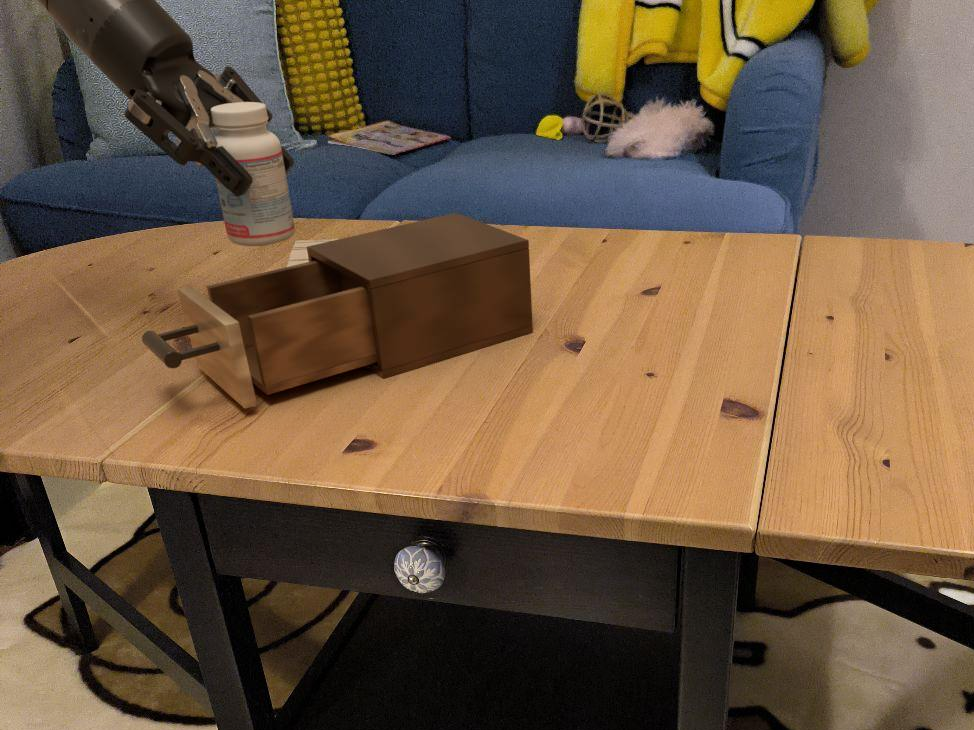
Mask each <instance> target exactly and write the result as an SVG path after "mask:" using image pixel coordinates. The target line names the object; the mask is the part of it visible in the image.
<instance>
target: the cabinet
mask: <svg viewBox="0 0 974 730" xmlns="http://www.w3.org/2000/svg"><path fill="white" fill-rule="evenodd" d="M337 239H338V240H334V241H330V242H325V243H321V244H316V245H312V246H308V247H307V252H308V258H309V262H311V261H315V260H319V261H321V262H323V263H325V264H327V265H328V266H330V267H332V268H334V269H336V270H338V271H339V272H341V273H343V274H345V275H347V276H349V277H350V278H352V279H354V280H356V281H358V282H360V283H361V284H363V285H365V286H367V290H368V297H369V304H370V311H371V318H372V325H373V332H374V339H375V346H376V353H377V360H378V362H376V363H372V364H369V365H366V366H364V367H366V368H367V369H368V370H370V371H371V372H373V373H374V374H376V375H377V376H379V377H380V378H382V379H386V378H390V377H393V376H396V375H400V374H403V373H406V372H410V371H412V370H415V369H418V368H419V369H420V368H422V367H426V366H429V365H432V364H435V363H438V362H441V361H442V362H443V361H444V360H448V359H451V358H454V357H458V356H461V355H464V354H467V353H470V352H474V351H477V350H480V349H484V348H487V347H490V346H494V345H496V344H497V345H498V344H500V343H503V342H506V341H509V340H512V339H515V338H518V337H522V336H526V335H529V334H532V333H533V332H534V326H533V305H532V304H533V303H532V285H531V283H532V282H531V262H530V259H531V258H530V241H529V239H526V238H525V237H521V236H520V235H516V234H513V233H511V232H508V231H505V230H503V229H501V228H497V227H496V226H492V225H490V224H487V223H485V222H482V221H480V220H477V219H475V218H471V217H469V216H466V215H463V214H461V213H458V212H452V213H449V214H444V215H440V216H436V217H431V218H426V219H422V220H417V221H413V222H409V223H404V224H399V225H396V226H391V227H386V228H383V229H378V230H374V231H370V232H365V233H360V234H356V235H353V236H352V235H351V236H347V237H343V239H342V238H337Z"/></svg>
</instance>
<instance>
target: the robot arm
mask: <svg viewBox="0 0 974 730" xmlns="http://www.w3.org/2000/svg"><path fill="white" fill-rule="evenodd" d="M35 1H36V2H37V3H38V5H40V6H41V7H42V8H43V9H44V10H45V11H46V12H47V13H48V15H50V16H51V18H52V19H54V21H55V22H56V23H57V25H58V26H59V27H60V29H61V30H62V31H63V32H64V33H65V35H66V36H67V37H68V38H69V40H70V41H71V42H72V43H73V44H74V45H75V46H76V47H77V48H78V49H79V50H80V51H81V52H82V53H83V54H84V55H85V56H86V57H87V58H88V59H89V60H90V61H91V62H92V63H93V64H94V66H96V67H97V68H98V70H100V71H101V72H102V73H103V74H104V76H106V77H107V78H108V79H109V81H111V82H112V83H113V84H114V86H116V88H117V89H118V90H120V92H121V93H123V95H125V97H126V98H127V99H129V100H130V102H129V103H128V105H127V106H126V110H125V111H124V113H123V114H124V115H123V116H124V117H125V118H126V120H128V121H129V122H130V123H131V124H132V125H133V126H134V127H135V128H137V129H138V130H139V131H140V132H142V134H143V135H145V136H146V137H147V138H148V139H149V140H150V141H151V142H153V143H154V144H155V145H156V146H157V147H158V148H159V149H161V150H162V151H163V152H164V153H165V154H166V155H167V156H168V157H170V158H171V159H172V160H173V161H174V162H176V164H177V165H180V166H186V165H187V164H188V162H193V163H194V164H195V165H196V166H199V167H205V168H206V169H207V170H208V172H210V174H212V175H213V177H214V178H215V177H216V178H217V179H218V180H219V181H220V182H221V183H222V184H223V185H224V186H225V187H226V188H227V189H228V190H230V191H231V192H232V193H233V194H234V195H235V196H241V195H243V194H245V193H246V191H247V190H248V188H249V187H250V185H251V184H252V182H253V179H252V176H251V175H250V174H249V173H248V172H247V171H246V170H245V169H244V168H243V167H242V166H241V165H240V164H239V163H238V162H237V161H236V160H235V159H234V158H233V157H232V156H231V154H230V153H229V152H228V151H227V150H226V149H225V148H224V147H223V146H220V147H216V146H217V145H218V143H217V141H216V139H215V135H214V133H213V130H214V131H216V132H217V133H218V129H216V128H215V127H214V125H215V124H213V120H212V114H211V108H212V107H215V106H218V105H222V104H228V103H237V102H258V103H263V102H262V100H261V99H260V98H259V97H258V95H257V94H256V93H255V92H254V91H253V90H252V89H251V87H250V86H249V84H247V82H246V81H245V80H244V79H243V78H242V77H241V75H240V74H239V73H238V72H237V71H236V70H235V69H234V68H233V67H231V66H225V67H224V69H223V71H222V72H221V73H218V74H217V73H216V74H213V72H211V71H210V70H209V69H208V68H206V67H204V66H203V65H201V64H200V62H197V60H196V58H195V55H194V44H193V39H192V38H191V36H190V35H189V34H188V33H187V32H186V31H185V29H183V28H182V27H181V25H179V24H178V22H177V21H176V20H175V19H174V18H173V17H172V16H171V15H170V14H169V13H168V12H167V11H166V10H165V9H164V8H163V7H162V6H161V4H159V2H158V1H157V0H35ZM266 110H267V115H268V120H267V121H268V124H267V125H266V129H267V130H268V128H267V127H268V126H269V124H270V122H271V120H272V119H273V117H274V116H273V114H272V113H271V111H270V110H269V109H268V107H266ZM212 129H213V130H212ZM170 133H172V134H173V135H174V137H175V138H176V140H177V142H178V145H177V144H176V143H175V142H174V141H172V140H171V139H170V137H169V135H170ZM281 149H282V155H283V161H284V167H285V172H286V176H287V175H288V174H289V172H290V171H291V169H292V168H293V167H294V164H295V160H294V158H293V157H292V156H291V155H290V153H289V152H288V151H287V150H286V149H285V147H283V146H282V145H281ZM216 178H215V179H216Z"/></svg>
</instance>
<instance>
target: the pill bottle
mask: <svg viewBox="0 0 974 730" xmlns="http://www.w3.org/2000/svg"><path fill="white" fill-rule="evenodd" d="M266 108H267V106H266V104H265V103H263V102H262V103H258V102H237V103H228V104H222V105H218V106H215V107H212V108H211V114H212V120H213V124H215V125H214V127H215V128H216V129H218V132H217V135H214V137H215V139H216V141H217V143H218V145H217V146H216V147H220V146H223V147H224V148H225V149H226V150H227V151H228V152H229V153H230V154H231V156H232V157H233V158H234V159H235V160H236V161H237V162H238V163H239V164H240V165H241V166H242V167H243V168H244V169H245V170H246V171H247V172H248V173H249V174H250V175H251V176H252V179H253V182H252V184H251V185H250V187H249V188H248V190H247V191H246V193H245V194H243V195H241V196H235V195H234V194H233V193H232V192H231V191H230V190H228V189H227V188H226V187H225V186H224V185H223V184H222V183H221V182H220V181H219V180H218V179H217V178H216V177H215V176H214V178H215V183H216V187H217V191H218V196H219V197H218V198H219V202H220V206H221V212H222V216H223V221H224V226H225V231H226V236H227V239H229V241H230V242H232V243H233V244H235V245H238V246H244V247H264V246H269V245H273V244H277V243H282V242H285V241H287V240H289V239H291V238H292V237H293V236H294V234H295V231H296V228H295V227H296V226H295V221H294V215H293V207H292V203H291V197H290V196H291V195H290V191H289V185H288V180H287V179H288V178H287V175H286V172H285V167H284V161H283V155H282V149H281V146H282V145H281V141H280V139H279V137H278V136H277V135H276V134H274V132H271V131H270V130H268V128H267V129H266V125H267V124H268V125H269V123H268V121H267V120H268V115H267V110H266ZM268 125H267V126H268Z"/></svg>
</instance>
